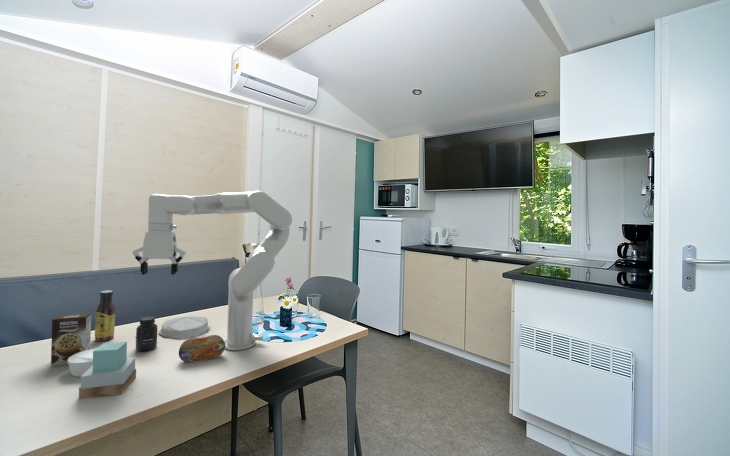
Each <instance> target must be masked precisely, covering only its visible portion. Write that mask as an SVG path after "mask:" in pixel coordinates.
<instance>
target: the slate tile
mask: <svg viewBox="0 0 730 456" xmlns="http://www.w3.org/2000/svg"><path fill="white" fill-rule="evenodd" d="M134 369H136V357H133V356H132V357H127V360H126V362H125V363H124V364H123V365H122V366H120V367H119V368H118V369H117V370H108V371H94V372H93V365H92V366H91V367H90V368H89V369H88V370H87V371H86V372H85V373H84V374H83V375H82V376H81V377H80V387H81V389H83V388H92V387H101V386H109V385H118V384H124V382H125V381H126V380H127V378H128V377H129V376H130V374H131V373H132V371H133V370H134Z"/></svg>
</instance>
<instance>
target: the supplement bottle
mask: <svg viewBox="0 0 730 456" xmlns="http://www.w3.org/2000/svg"><path fill="white" fill-rule="evenodd" d="M155 320H156V317H155V316H153V315H152V316H144V317H141V318H140V319H139V325H138V326H137V327H136V329H135V332H136V333H135V350H136V352H139V353H145V352H150V351H151V352H152V351H153V350H155V349H156V348H157V345H158V328H159V327H158V324H156V321H155Z"/></svg>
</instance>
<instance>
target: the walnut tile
mask: <svg viewBox="0 0 730 456" xmlns="http://www.w3.org/2000/svg"><path fill="white" fill-rule="evenodd" d="M136 379H137V368H135V369H134V370H133V371H132V373H131V374H130V376H129V377H128V378H127V380H126V381H125V382H124V384H118V385H109V386H101V387H92V388H83V389H81V386H79V388H78V399H88V398H89V399H90V398H103V397H115V396H121V394H122V393H124V392H125V390H126V389H127V388H128V387H129V386H130V385H131V384H132V383H133V382H134V381H135V380H136Z"/></svg>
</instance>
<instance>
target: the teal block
mask: <svg viewBox="0 0 730 456" xmlns="http://www.w3.org/2000/svg"><path fill="white" fill-rule="evenodd" d="M127 346H128V342H127V341H118V342H117V341H115V342H103V343H102V344H100V346H98V347H96V348H97V349H96V348H94V349H95V350H94V351H93V372H94V371H108V370H117V369H118V368H119V367H120V366H122V365H123V364H124V363H125V362H126V360H127V358H128V357H127V355H128V353H127V352H128V351H127V349H128V348H127Z"/></svg>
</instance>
